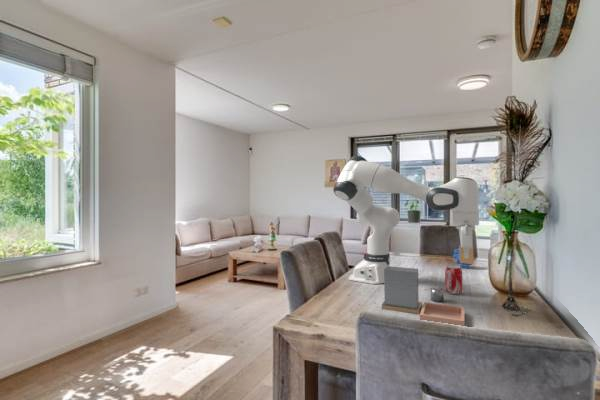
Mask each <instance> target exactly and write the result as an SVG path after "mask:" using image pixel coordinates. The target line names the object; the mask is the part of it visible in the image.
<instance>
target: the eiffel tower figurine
mask: <svg viewBox="0 0 600 400" xmlns="http://www.w3.org/2000/svg"><path fill="white" fill-rule="evenodd" d="M509 280H510V283H509V292H508V296H507V299H505V301H504V303H502V304H501V305H500V306H501V307H502V308H503V309H504V310H505V311H507V312H509V311H511V312H520V313H521V314H517V313H515V314H514V313H513V314H511V316H512V317H516V318H517V317H520V316H522V315H525V314H527V313H531V312H532V309H530V308H529V307H527V308H524V307H525V306H522V305H521V306H522V307H521V306H519V305H518V303H517V301H516V300H515V299H516V298H515V295H514V290H513V278H512V277H510V279H509ZM528 308H529V309H528ZM525 312H526V313H525Z"/></svg>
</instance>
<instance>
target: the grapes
mask: <svg viewBox="0 0 600 400" xmlns="http://www.w3.org/2000/svg"><path fill="white" fill-rule="evenodd" d="M453 252H454V253H453V255H452V256H453V259H455V264H456V265H458V266H460V267H461V269H464V268H465V269H469V268H470V266H471V265H473V264H467V263H460V253H459V247H458V248H455V249H454V251H453Z"/></svg>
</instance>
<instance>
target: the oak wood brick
mask: <svg viewBox="0 0 600 400" xmlns="http://www.w3.org/2000/svg"><path fill="white" fill-rule="evenodd" d="M458 248H459V253H460V263H467V264H472V265H473V264H474V246H473V247H472V248H470V251H469V258H468V259H467V258H464V253H463V248H461V244H460V245H459V247H458Z"/></svg>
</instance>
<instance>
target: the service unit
mask: <svg viewBox="0 0 600 400" xmlns="http://www.w3.org/2000/svg"><path fill="white" fill-rule="evenodd" d="M383 286H384V300H383V302H382V304H381V309H382V310H388V311H395V312H401V313H409V314H413V315H414V314H415V315H420V312H421V310H422V307H423V302H422V301H420V299H419V297H420V296H419V268H412V267H401V266H400V267H399V266H391V265H390V266H387V267H386V268H385V269H384V283H383Z"/></svg>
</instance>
